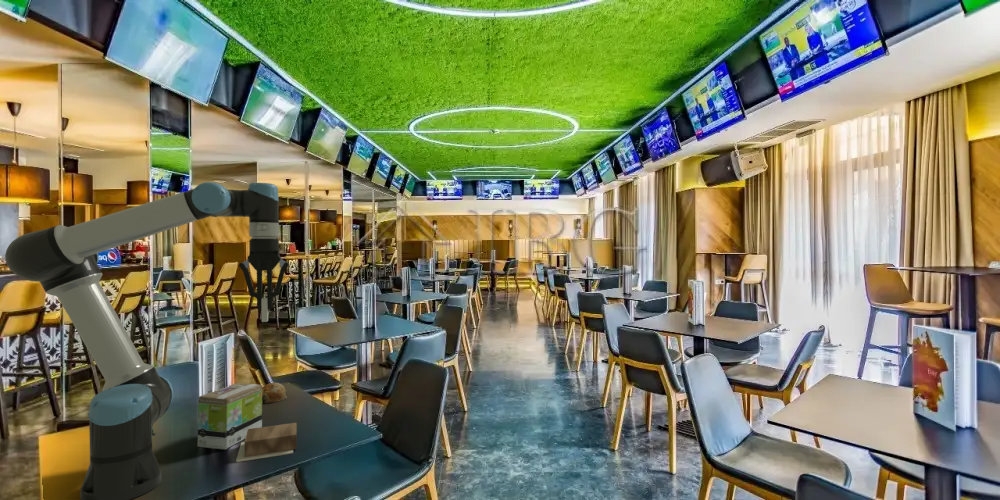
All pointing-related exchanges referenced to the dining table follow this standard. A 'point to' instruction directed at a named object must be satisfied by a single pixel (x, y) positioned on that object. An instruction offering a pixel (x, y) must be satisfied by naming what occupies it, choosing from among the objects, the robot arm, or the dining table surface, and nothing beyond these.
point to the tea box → (228, 415)
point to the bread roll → (273, 393)
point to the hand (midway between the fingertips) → (264, 321)
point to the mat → (242, 454)
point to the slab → (271, 439)
